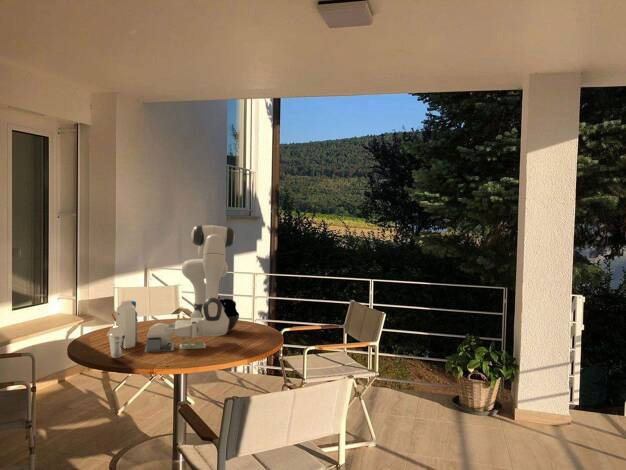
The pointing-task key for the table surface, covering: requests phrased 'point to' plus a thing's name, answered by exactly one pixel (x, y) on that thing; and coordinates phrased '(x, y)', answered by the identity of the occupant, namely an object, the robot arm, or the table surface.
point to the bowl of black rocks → (230, 311)
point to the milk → (127, 322)
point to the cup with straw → (116, 339)
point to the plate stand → (191, 346)
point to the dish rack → (157, 345)
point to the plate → (160, 333)
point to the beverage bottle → (135, 320)
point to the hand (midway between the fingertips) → (164, 328)
